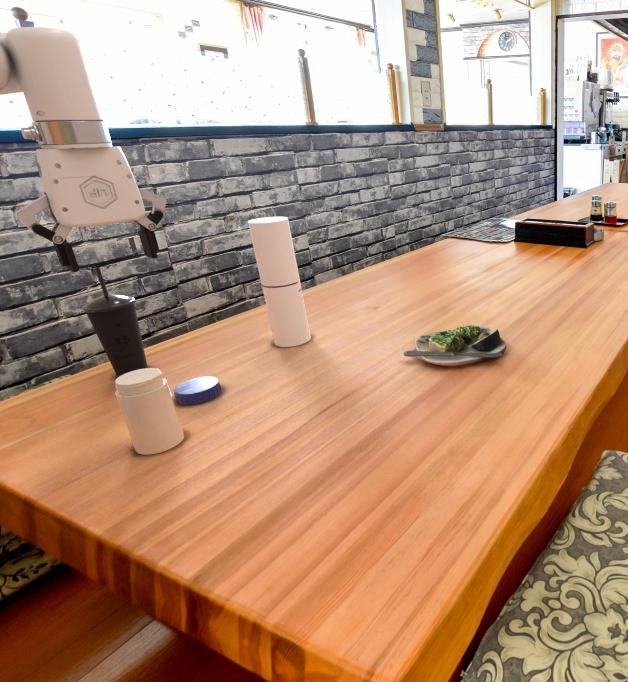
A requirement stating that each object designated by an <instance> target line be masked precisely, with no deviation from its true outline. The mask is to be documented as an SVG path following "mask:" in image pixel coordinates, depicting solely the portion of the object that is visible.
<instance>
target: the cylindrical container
mask: <svg viewBox="0 0 628 682" xmlns="http://www.w3.org/2000/svg"><path fill="white" fill-rule="evenodd" d="M247 225H248V229H249V234H250V238H251V243H252V248H253V252H254V256H255V261H256V266H257V269H258V273H259V275H258V276H259V279H260V284H261V289H262V292H263V293H262V294H263V297H264V301H265V302H264V303H265V306H266V311H267V317H268V321H269V324H270V328H271V329H270V330H271V333H272V338H273V342H274V345H275V346H277V347H280V348H291V347H297V346H301V345H303V344H306V343H308V342H310V341H311V339H312V336H311V330H310V324H309V321H308V314H307V310H306V305H305V300H304V295H303V289H302V283H301V279H300V273H299V268H298V263H297V262H298V261H297V257H296V253H295V247H294V242H293V237H292V231H291V226H290V221H289V218H288V217H287V216H267V217H259V218H258V217H257V218H252V219H250V220H247Z"/></svg>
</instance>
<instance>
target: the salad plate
mask: <svg viewBox="0 0 628 682" xmlns="http://www.w3.org/2000/svg"><path fill="white" fill-rule="evenodd" d="M414 346H415V350H405V351H404V352H403V356H404V357H407V358H413V359H414V358H415V359H418V360H421V361H423V362H426V363H429V364H433V365H438V366H442V367H443V366H444V367H451V368H453V367H459V366H460V367H461V366H467V365H475V364H482V363H483V364H484V363H487V362H492V361H495V360H497V359H499V358H501V357H502V356H504V352H505V351H506V349H507V343H506V342H505V340H504V339H503V338H502V337H501V335H500V331H499V329H498V328H496V329H493V328H491V327H488V326H486V325H485V326H484V325H471V324H470V325H469V324H468V325H462V326H460V325H459V326H456V327H455V328H451V329H446V330H438V331H431V332H427V333H424V334H421V335H419V337H417V338H416V339H415V341H414Z"/></svg>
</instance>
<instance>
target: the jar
mask: <svg viewBox="0 0 628 682" xmlns="http://www.w3.org/2000/svg"><path fill="white" fill-rule="evenodd" d="M114 383H115V385H114V386H115V389H116V390H115V392H114V395H115V396H116V400H117V403H118V406H119V409H120V412H121V415H122V417H123V419H124V423H125V426H126V429H127V431H128V433H129V436H130V439H131V442H132V446H133V448H134V451H135V453H137V454H139V455H142V456H143V455H144V456H145V455H146V456H147V455H156V454H160V453H163V452H166V451H169V450H171V449H173V448H175V447H176V446H178V445H179V444H180V443H181V442H183V441H184V439H185V433H184V429H183V427H182V423H181V420H180V418H179V414H178V411H177V408H176V405H175V401H174V398H173V394H172V392H171V389H170V385H169V382H168V380H167V378H165V377H163V372H162V371H161V370H160V369H159V368H157V367H148V368H144V369H139V370H134V371H131V372H128V373H126V374H123V375H121V376H120V377H117V378H116V379H115V380H114Z"/></svg>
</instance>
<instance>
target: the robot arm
mask: <svg viewBox="0 0 628 682" xmlns="http://www.w3.org/2000/svg"><path fill="white" fill-rule="evenodd" d="M18 93H19V94H20V93H23V95H24V98H25V101H26V104H27V107H28V110H29V114H30V117H31V119H32V122H31V125H30V126H27V127H21V128H20V131H21V135H22V137H23V139H24V140H32V141H36V142H37V143H38V145H40V146H41V148H38V149H35V151H36V152H35V153H36V163H37V169H38V175H39V179H40V183H41V188H42V192H43V195H41V196H39V197H38V198H36V199H34V200H33V201H31V202H30V203H28V204H26V205H25V206H22V207H21V208H19V209H18V210H16V211H15V212H14V216H15V218H17V220H19V221H20V222H21V223H22V224H23V225H24V226H25V227H27V228H28V229H29V230H30V231H31V232H32V233H34V234H36V235H37V236H40V237H42V238H44V239H46V240H47V241H50V242H51V243H52V244H53V247H54V250H55V253H56V256H57V259H58V262H59V264H60V266H61V267H62V268H64V267H66V269H67V270H68V271H70V272H72V273H74V274H75V273H79V271H80V266H79V264H78V261H77V257H76V255H75V252H74V249H73V245H72V243H70V242H68V240H67V237H68V235H70V232H71V231H72V229H73V228H86V227H94V226H102V225H111V224H119V223H126V222H133V223H134V224H135V225H136V226H138V227H139V229H138V231H137V233H138V237H139V240H140V243H141V247H142V250H143V254H144V256H145V257H148V258H151V259H158V258H159V256H158V252H159V251H160V247H159V244H158V240H157V237H156V233H155V231H156V230H157V229H158V228H157V227H158V225H159V224H160V222H161V221H162V219H163V218H164V212H165V210H166V206H167V202H168V200H167V198H166V197H164V196H161V195H158V194H156V193H153V192H150V191H148V190H144V189H141V188H139V186H138V184H137V180H136V178H135V175H134V173H133V171H132V169H131V167H130V164H129V161H128V160H127V157H126V155H125V153H124V152H123V150H122V147H121V146H113V143H112V140H111V136H110V133H109V129H108V126H107V125H108V124H107V122H106V119H105V115H104V112H103V109H102V106H101V101H100V98H99V94H98V91H97V86H96V84H95V80H94V77H93V73H92V70H91V66H90V62H89V59H88V56H87V53H86V49H85V47H84V44H83V42H82V41H81V39H80V38H79V37H78V36H77V35H75V34H74V33H72V32H69V31H68V30H63V29H59V28H53V27H52V28H50V27H39V26H21V27H15V28H11V29H10V30H8V32H0V96H1V95H2V96H3V95H11V94H18ZM143 200H144V201H147V202H150V203H151V204H152V208H151V210H150V212H149V213H148V215H147V216H146V207H145V204H144V201H143ZM46 209H47V210H48V213H49V215H50V218H51V219H52V221H53V222H54V223H53V225H52V227H51V229H49V228H47V227H46V226H44V225H43V224H41V223H40V222H39V221H38V220H37V219H36V218H35V217H36V215H38V214H40V213H41V212H43V211H45V210H46Z"/></svg>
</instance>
